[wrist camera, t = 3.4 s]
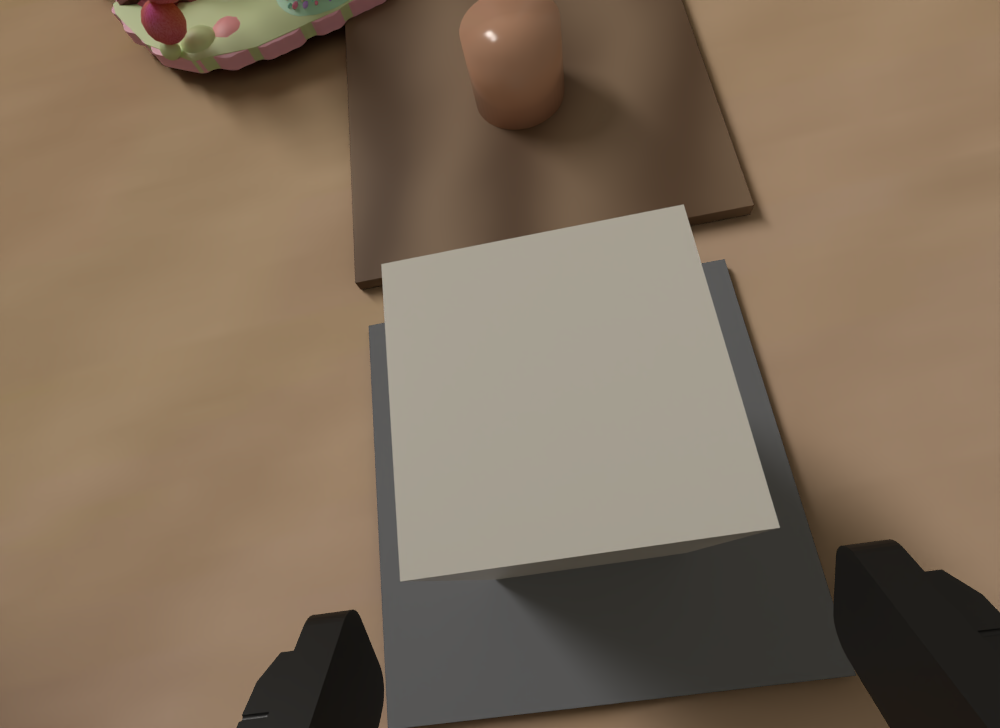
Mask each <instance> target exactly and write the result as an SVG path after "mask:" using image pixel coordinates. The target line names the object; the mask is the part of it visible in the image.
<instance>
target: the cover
mask: <svg viewBox="0 0 1000 728" xmlns="http://www.w3.org/2000/svg"><path fill="white" fill-rule="evenodd" d="M381 268H382V285H383V301H384V318H385V335H386V352H387V369H388V386H389V402H390V419H391V436H392V453H393V470H394V487H395V503H396V520H397V537H398V554H399V571H400V582H402V581H455V580H497V579H504V578H511V577H519V576H526V575H533V574H540V573H547V572H554V571H561V570H569V569H576V568H583V567H590V566H597V565H604V564H612V563H619V562H626V561H633V560H640V559H647V558H655V557H662V556H669V555H676V554H683V553H688V552H692V551H695V550H699V549H703V548H707V547H710V546H714V545H718V544H721V543H725V542H729V541H733V540H736V539H740V538H744V537H747V536H751V535H755V534H759V533H762V532H766V531H770V530H773V529H777V528H780V526H779V523H778V519H777V516H776V512H775V509H774V506H773V502H772V499H771V496H770V492H769V489H768V486H767V482H766V479H765V476H764V472H763V469H762V465H761V462H760V459H759V455H758V452H757V449H756V445H755V442H754V439H753V435H752V432H751V429H750V425H749V422H748V419H747V415H746V412H745V408H744V405H743V402H742V398H741V395H740V392H739V388H738V385H737V382H736V378H735V375H734V372H733V368H732V365H731V361H730V358H729V355H728V351H727V348H726V345H725V341H724V338H723V335H722V331H721V328H720V325H719V321H718V318H717V314H716V311H715V308H714V304H713V301H712V298H711V294H710V291H709V288H708V284H707V281H706V278H705V274H704V271H703V267H702V264H701V261H700V257H699V254H698V251H697V247H696V244H695V241H694V237H693V234H692V231H691V227H690V224H689V220H688V217H687V214H686V210H685V207H684V204H683V205H678V206H673V207H668V208H663V209H658V210H653V211H648V212H643V213H638V214H632V215H627V216H622V217H617V218H612V219H607V220H602V221H597V222H592V223H587V224H582V225H577V226H572V227H567V228H562V229H557V230H552V231H546V232H541V233H536V234H531V235H526V236H521V237H516V238H511V239H506V240H501V241H496V242H491V243H486V244H481V245H476V246H471V247H466V248H460V249H455V250H450V251H445V252H440V253H435V254H430V255H425V256H420V257H415V258H410V259H405V260H400V261H395V262H390V263H385V264H381Z"/></svg>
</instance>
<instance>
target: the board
mask: <svg viewBox="0 0 1000 728" xmlns="http://www.w3.org/2000/svg"><path fill="white" fill-rule="evenodd" d="M477 1H478V0H389V1H385V2H384V3H383V4H380V5H378V6H375V7H373V8H372V9H370V10H368V11H365V12H363V13H361V14H359V15H357V16H355V17H352V18H350V19H348V20H347V21H346V23H345V33H346V59H347V84H348V109H349V134H350V160H351V185H352V210H353V235H354V261H355V283H356V284H357V285H358V287H359V288H360V289H367V288H372V287H377V286H382V268H381V264H385V263H390V262H395V261H400V260H405V259H410V258H415V257H420V256H425V255H430V254H435V253H440V252H445V251H450V250H455V249H460V248H466V247H471V246H476V245H481V244H486V243H491V242H496V241H501V240H506V239H511V238H516V237H521V236H526V235H531V234H536V233H541V232H546V231H552V230H557V229H562V228H567V227H572V226H577V225H582V224H587V223H592V222H597V221H602V220H607V219H612V218H617V217H622V216H627V215H632V214H638V213H643V212H648V211H653V210H658V209H663V208H668V207H673V206H678V205H683V204H684V207H685V210H686V214H687V217H688V220H689V224H690V226H691V225H697V224H702V223H707V222H712V221H717V220H722V219H728V218H733V217H738V216H743V215H748V214H750V213H751V211H752V208H753V206H754V204H753V201H752V198H751V195H750V192H749V189H748V187H747V184H746V181H745V178H744V175H743V172H742V170H741V167H740V164H739V161H738V158H737V155H736V153H735V150H734V147H733V144H732V141H731V138H730V136H729V133H728V130H727V127H726V124H725V121H724V119H723V116H722V113H721V110H720V107H719V104H718V102H717V99H716V96H715V93H714V90H713V87H712V85H711V82H710V79H709V76H708V73H707V70H706V68H705V65H704V62H703V59H702V56H701V53H700V51H699V48H698V45H697V42H696V39H695V36H694V33H693V31H692V28H691V25H690V22H689V19H688V16H687V14H686V11H685V8H684V5H683V2H682V0H553V1H554V2H555V4H556V5H557V7H558V9H559V12H560V21H561V37H562V54H563V71H564V88H565V92H564V98H563V101H562V103H561V105H560V107H559V108H558V110H557V111H556V112H555V113H554V114H553V115H552V116H551V117H550V118H548V119H547V120H546V121H544V122H542V123H540V124H538V125H536V126H533V127H531V128H526V129H520V130H507V129H502V128H499V127H496V126H494V125H491V124H490V123H488V122H487V121H486V120H485V119H484V118H483V117H482V116H481V115H480V113H479V111H478V109H477V105H476V101H475V97H474V93H473V89H472V85H471V81H470V77H469V73H468V69H467V65H466V61H465V57H464V53H463V49H462V45H461V41H460V36H459V29H460V24H461V21H462V19H463V17H464V15H465V14H466V12H467V11H468V10H469V8H470V7H471V6H472V5H473V4H475V3H476V2H477Z"/></svg>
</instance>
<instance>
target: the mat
mask: <svg viewBox="0 0 1000 728" xmlns="http://www.w3.org/2000/svg"><path fill="white" fill-rule="evenodd" d="M702 267H703V271H704V274H705V278H706V281H707V284H708V288H709V291H710V294H711V298H712V301H713V304H714V308H715V311H716V314H717V318H718V321H719V325H720V328H721V331H722V335H723V338H724V341H725V345H726V348H727V351H728V355H729V358H730V361H731V365H732V368H733V372H734V375H735V378H736V382H737V385H738V388H739V392H740V395H741V398H742V402H743V405H744V408H745V412H746V415H747V419H748V422H749V425H750V429H751V432H752V435H753V439H754V442H755V445H756V449H757V452H758V455H759V459H760V462H761V465H762V469H763V472H764V476H765V479H766V482H767V486H768V489H769V492H770V496H771V499H772V502H773V506H774V509H775V512H776V516H777V519H778V523H779V526H780V528H777V529H773V530H770V531H766V532H762V533H759V534H755V535H751V536H747V537H744V538H740V539H736V540H733V541H729V542H725V543H721V544H718V545H714V546H710V547H707V548H703V549H699V550H695V551H692V552H688V553H683V554H676V555H669V556H662V557H655V558H647V559H640V560H633V561H626V562H619V563H612V564H604V565H597V566H590V567H583V568H576V569H569V570H561V571H554V572H547V573H540V574H533V575H526V576H519V577H511V578H504V579H497V580H455V581H402V582H400V571H399V554H398V537H397V520H396V503H395V487H394V470H393V453H392V436H391V419H390V402H389V386H388V369H387V352H386V335H385V323H381V324H376V325H371V326H369V342H370V363H371V384H372V405H373V426H374V447H375V468H376V488H377V509H378V530H379V551H380V572H381V593H382V614H383V635H384V656H385V676H386V697H387V718H388V728H407V727H416V726H425V725H433V724H442V723H451V722H459V721H468V720H476V719H485V718H494V717H502V716H511V715H519V714H528V713H537V712H545V711H554V710H563V709H571V708H580V707H588V706H597V705H606V704H614V703H623V702H632V701H640V700H649V699H657V698H666V697H675V696H683V695H692V694H700V693H709V692H718V691H726V690H735V689H744V688H752V687H761V686H769V685H778V684H787V683H795V682H804V681H812V680H821V679H830V678H838V677H847V676H856V674H855V671H854V668H853V666H852V665H851V663H850V661H849V660H848V658H847V656H846V654H845V652H844V650H843V648H842V646H841V644H840V641H839V638H838V635H837V632H836V628H835V624H834V617H833V608H834V604H833V601H832V598H831V595H830V592H829V588H828V585H827V582H826V579H825V576H824V573H823V569H822V566H821V563H820V560H819V557H818V554H817V550H816V547H815V544H814V541H813V538H812V535H811V531H810V528H809V525H808V522H807V519H806V516H805V512H804V509H803V506H802V503H801V500H800V497H799V493H798V490H797V487H796V484H795V481H794V478H793V475H792V471H791V468H790V465H789V462H788V459H787V456H786V452H785V449H784V446H783V443H782V440H781V437H780V433H779V430H778V427H777V424H776V421H775V418H774V414H773V411H772V408H771V405H770V402H769V399H768V395H767V392H766V389H765V386H764V383H763V380H762V376H761V373H760V370H759V367H758V364H757V361H756V357H755V354H754V351H753V348H752V345H751V342H750V339H749V335H748V332H747V329H746V326H745V323H744V320H743V316H742V313H741V310H740V307H739V304H738V301H737V297H736V294H735V291H734V288H733V285H732V282H731V278H730V275H729V272H728V269H727V266H726V263H725V259H723V260H718V261H712V262H707V263H702Z"/></svg>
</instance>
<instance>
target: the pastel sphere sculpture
mask: <svg viewBox="0 0 1000 728" xmlns="http://www.w3.org/2000/svg"><path fill="white" fill-rule="evenodd" d="M385 1H386V0H116V2H115V3H113V8H112V13H113V14H114V15H115V16H116V17H117V19H118V20H119V21H120V22H121V23H122V25H123V26H124V30H125V31H126V32H127V34H128V35H129V36H130V37H131V38H132V40H133V41H134V42H135V43H137V44H139V45H144V46H146V47H147V48H148V50H149V51H150V52H151V53H152V54H153V55H155V56H156V57H157V58H158V60H159V61H160V62H161V63H162V64H163V65H164V66H167V67H172V68H176V69H181V70H186V71H191V72H196V73H208V72H210V71H212V70H215V69H226V70H239V69H241V68H243V67H245V66H247V65H250V64H252V63H254V62H256V61H258V60H262V59H265V60H271V59H274V58H276V57H278V56H280V55H283V54H286V53H288V52H290V51H291V50H293V49H296V48H299V47H301V46H302V45H303V44H304V43H305V42H306V41H307V39H309V38H311V37H313V36H315V35H326V34H328V33H330V32H332V31H334V30H337V29H340V28H341V27H342V26H343V25H344V24H345V23H346V21H347V20H348V19H350V18H352V17H355V16H357V15H359V14H361V13H363V12H365V11H368V10H370V9H372V8H373V7H375V6H378V5H380V4H383V3H384V2H385Z"/></svg>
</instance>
